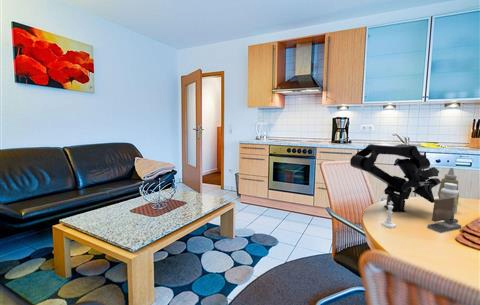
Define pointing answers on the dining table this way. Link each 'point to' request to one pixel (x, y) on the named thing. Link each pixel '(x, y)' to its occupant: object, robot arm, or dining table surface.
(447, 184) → the supplement bottle
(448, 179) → the squeeze bottle
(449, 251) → the dining table surface
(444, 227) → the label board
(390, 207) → the chess piece
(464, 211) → the dining table surface
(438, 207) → the walnut gate
